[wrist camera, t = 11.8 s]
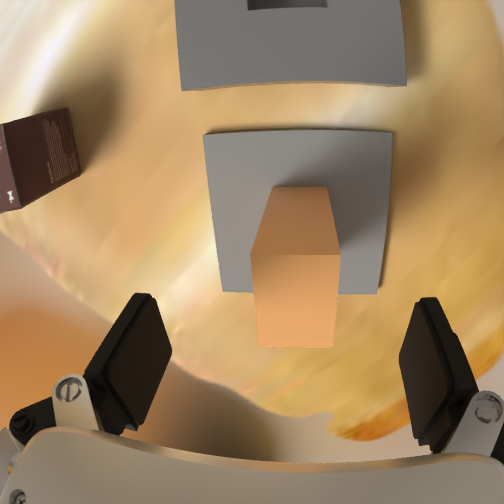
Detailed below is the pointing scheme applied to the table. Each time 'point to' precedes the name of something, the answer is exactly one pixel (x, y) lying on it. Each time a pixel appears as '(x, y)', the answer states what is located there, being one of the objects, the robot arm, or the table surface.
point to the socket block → (289, 42)
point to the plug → (296, 269)
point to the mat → (301, 175)
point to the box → (35, 158)
